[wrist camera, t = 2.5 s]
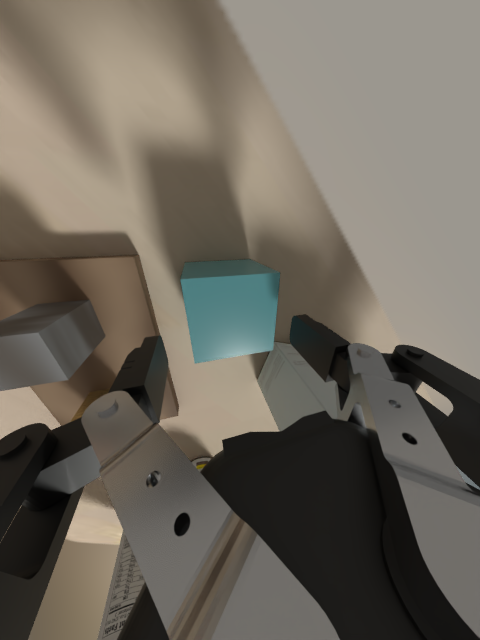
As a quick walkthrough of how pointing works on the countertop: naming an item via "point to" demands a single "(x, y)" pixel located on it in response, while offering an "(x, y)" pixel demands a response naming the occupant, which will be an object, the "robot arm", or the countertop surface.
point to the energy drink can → (121, 592)
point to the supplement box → (294, 387)
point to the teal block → (230, 307)
